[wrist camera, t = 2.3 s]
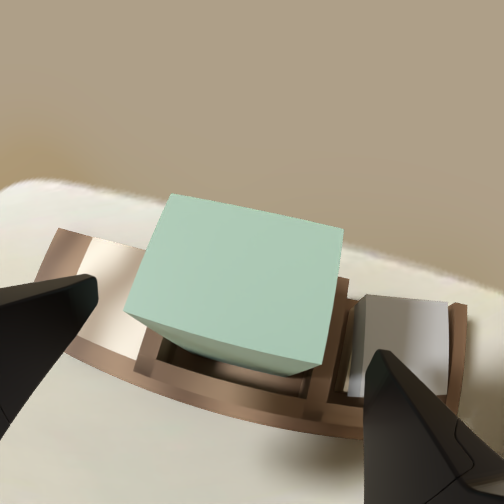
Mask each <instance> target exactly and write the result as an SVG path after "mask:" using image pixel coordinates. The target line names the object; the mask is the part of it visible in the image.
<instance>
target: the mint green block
mask: <svg viewBox="0 0 504 504" xmlns="http://www.w3.org/2000/svg"><path fill="white" fill-rule="evenodd" d="M343 233H344V229H341V228H337V227H332V226H328V225H324V224H320V223H315V222H311V221H306V220H302V219H297V218H293V217H288V216H284V215H279V214H274V213H270V212H265V211H260V210H255V209H251V208H246V207H241V206H236V205H231V204H226V203H220V202H215V201H210V200H205V199H200V198H194V197H189V196H183V195H177V194H171V195H170V197H169V199H168V201H167V203H166V206H165V208H164V210H163V212H162V214H161V217H160V219H159V221H158V223H157V226H156V228H155V230H154V233H153V235H152V237H151V240H150V242H149V244H148V247H147V249H146V252H145V254H144V257H143V259H142V261H141V264H140V266H139V269H138V272H137V274H136V277H135V279H134V282H133V284H132V287H131V290H130V292H129V295H128V298H127V301H126V303H125V306H124V309H123V311H124V312H125V313H127V314H128V315H130V316H131V317H133V318H134V319H136V320H137V321H139V322H141V323H142V324H144V325H145V326H147V327H148V328H150V329H152V330H153V331H155V332H156V333H158V334H160V335H161V336H163V337H165V338H166V339H168V340H170V341H171V342H173V343H175V344H176V345H178V346H180V347H181V348H183V349H185V350H187V351H188V352H190V353H192V354H195V355H198V356H202V357H205V358H208V359H212V360H216V361H219V362H223V363H226V364H230V365H234V366H238V367H242V368H246V369H250V370H254V371H258V372H262V373H267V374H271V375H275V376H280V377H288V376H291V375H294V374H297V373H300V372H303V371H305V370H308V369H311V368H314V367H316V366H319V365H322V361H323V356H324V351H325V346H326V341H327V336H328V331H329V325H330V320H331V314H332V309H333V303H334V297H335V291H336V284H337V278H338V271H339V264H340V257H341V249H342V241H343Z"/></svg>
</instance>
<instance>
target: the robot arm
mask: <svg viewBox="0 0 504 504" xmlns="http://www.w3.org/2000/svg"><path fill="white" fill-rule="evenodd" d="M98 300H99V295H98V282H97V278H96V277H95V276H92V275H89V274H80V275H74V276H68V277H62V278H56V279H51V280H45V281H39V282H33V283H28V284H22V285H16V286H11V287H5V288H0V440H1V439H2V437H3V435H4V434H5V432H6V431H7V429H8V428H9V426H10V424H11V423H12V422H13V420H14V419H15V417H16V416H17V414H18V413H19V411H20V410H21V409H22V407H23V406H24V404H25V403H26V402H27V400H28V399H29V397H30V396H31V395H32V393H33V392H34V390H35V389H36V388H37V386H38V385H39V384H40V382H41V381H42V380H43V378H44V377H45V376H46V374H47V373H48V372H49V370H50V369H51V368H52V366H53V365H54V364H55V363H56V361H57V360H58V359H59V357H60V356H61V355H62V354H63V352H64V351H65V350H66V349H67V347H68V346H69V345H70V344H71V342H72V341H73V340H74V339H75V337H76V336H77V334H78V333H79V331H80V330H81V328H82V327H83V325H84V324H85V322H86V321H87V319H88V318H89V316H90V315H91V313H92V312H93V310H94V309H95V308H96V306H97V304H98ZM457 418H458V417H457V416H456V415H455V414H454V413H453V412H452V411H451V410H450V409H449V408H448V407H447V406H446V405H445V404H444V403H443V402H442V401H441V400H440V399H439V398H438V397H437V396H436V395H435V394H434V393H433V392H432V391H431V390H430V389H429V388H428V387H427V386H426V385H425V384H424V383H423V382H422V381H421V380H420V379H419V378H418V377H417V376H416V375H415V374H414V373H413V372H412V371H411V370H410V369H409V368H408V367H407V366H406V365H405V364H404V363H403V362H402V361H400V360H399V359H398V358H397V357H396V356H395V355H394V354H393V353H392V352H391V351H390V350H385V349H377V350H376V351H375V353H374V355H373V357H372V359H371V361H370V363H369V365H368V367H367V370H366V373H365V385H364V405H363V437H364V504H504V459H503V458H501V457H500V456H499V455H498V454H497V453H496V452H495V451H493V450H492V449H491V448H490V447H489V446H488V445H486V444H485V443H484V442H483V441H482V440H481V439H480V438H479V437H478V436H476V435H475V434H474V433H473V432H472V431H471V430H470V429H469V428H468V427H467V426H466V425H465V424H464V423H463V422H462V421H461V420H460V419H459V418H458V419H457Z"/></svg>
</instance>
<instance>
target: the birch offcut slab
mask: <svg viewBox="0 0 504 504" xmlns="http://www.w3.org/2000/svg"><path fill="white" fill-rule="evenodd" d="M353 325H354V307H353V308H352V309H351V310H349V315H348V321H347V327H346V333H345V339H344V344H343V350H342V355H341V360H340V365H339V370H338V375H337V380H336V384H335V389H334V391H337V392H343V393H348V386H349V377H350V366H351V355H352V341H353Z"/></svg>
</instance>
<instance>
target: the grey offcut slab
mask: <svg viewBox="0 0 504 504" xmlns="http://www.w3.org/2000/svg"><path fill="white" fill-rule="evenodd" d="M377 349H385V350H390V351H391V352H392V353H393V354H394V355H395V356H396V357H397V358H398V359H399V360H400V361H402V362H403V363H404V364H405V365H406V366H407V367H408V368H409V369H410V370H411V371H412V372H413V373H414V374H415V375H416V376H417V377H418V378H419V379H420V380H421V381H422V382H423V383H424V384H425V385H426V386H427V387H428V388H429V389H430V390H431V391H432V392H433V393H434V394H435V395H446V394H447V385H448V364H449V323H448V302H441V301H430V300H418V299H408V298H397V297H387V296H377V295H368V294H366V295H365V296H364V297H363V298H362V299H361V300H360V301H359V302H358V303H357V304H355V305H354V325H353V341H352V355H351V366H350V377H349V386H348V395H347V396H349V397H364V385H365V373H366V370H367V367H368V365H369V363H370V361H371V359H372V357H373V355H374V353H375V351H376V350H377Z"/></svg>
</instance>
